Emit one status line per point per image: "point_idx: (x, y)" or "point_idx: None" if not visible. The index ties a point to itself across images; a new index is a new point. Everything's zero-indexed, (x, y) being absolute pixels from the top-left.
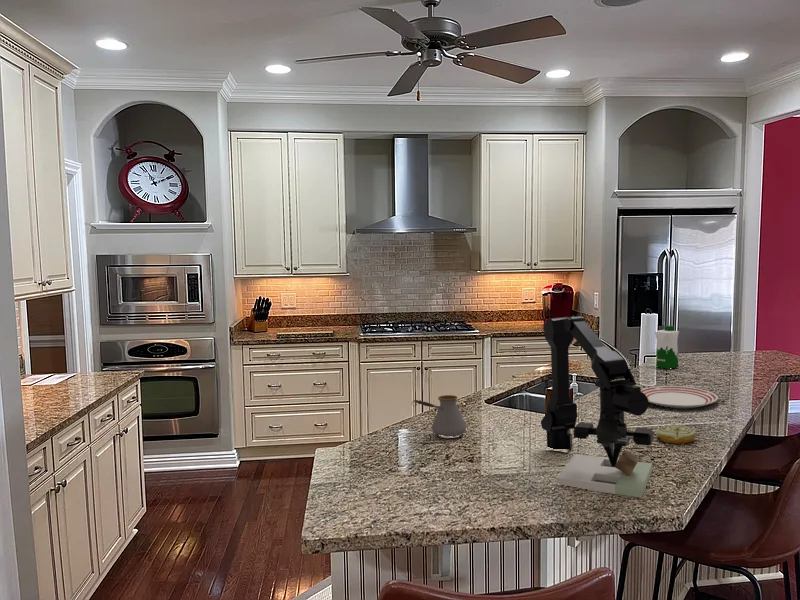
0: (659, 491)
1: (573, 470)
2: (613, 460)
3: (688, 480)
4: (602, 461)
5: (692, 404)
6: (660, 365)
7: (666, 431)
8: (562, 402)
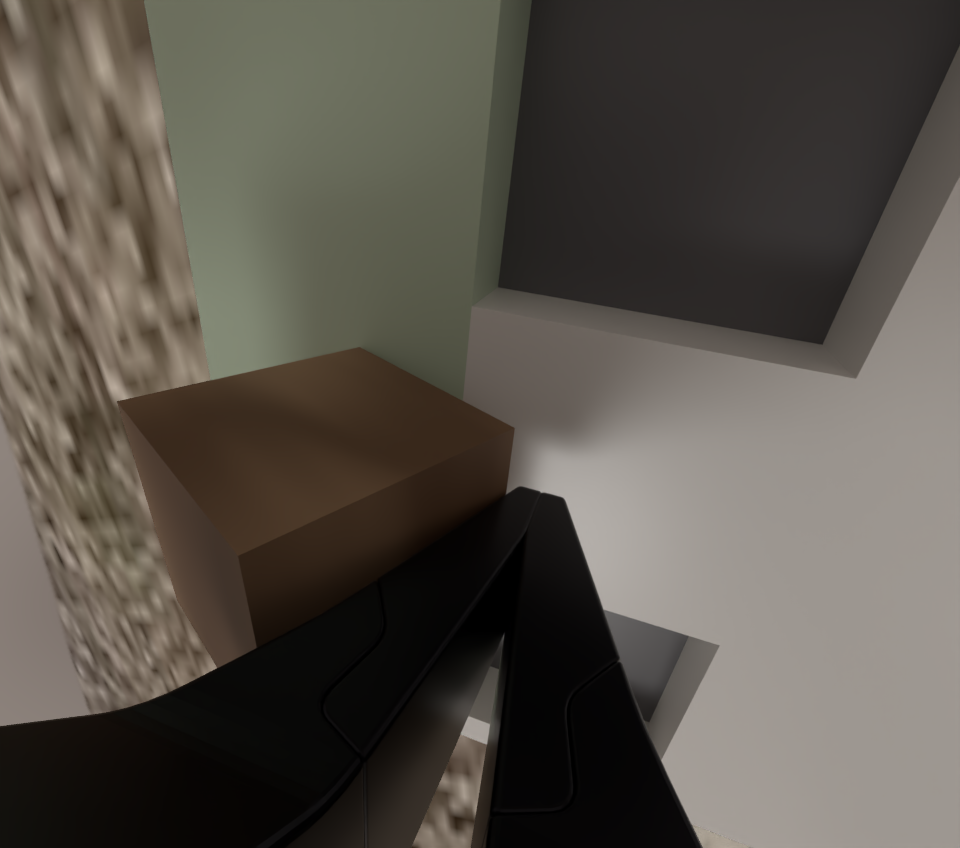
0: (139, 182)
1: None
2: (508, 539)
3: (78, 465)
4: (674, 737)
5: None
6: None
7: None
8: None
